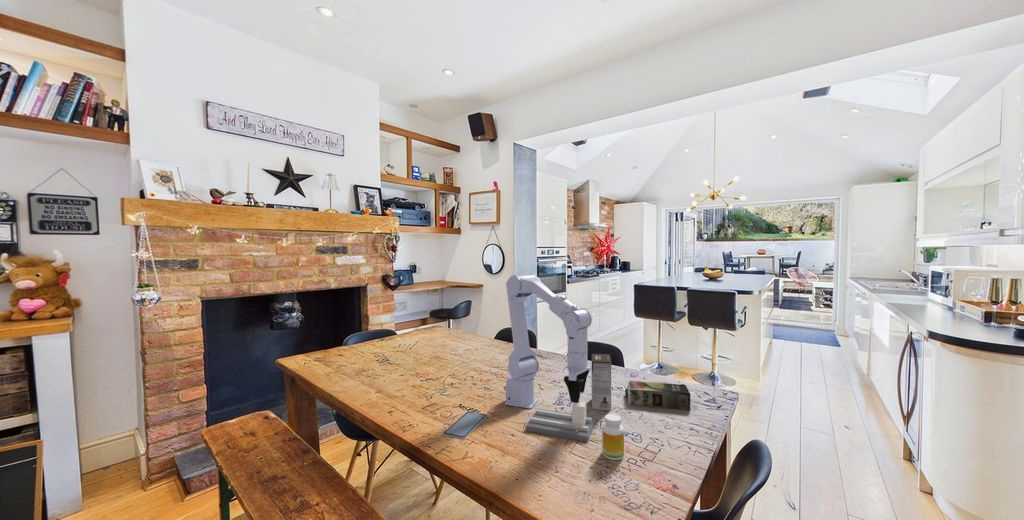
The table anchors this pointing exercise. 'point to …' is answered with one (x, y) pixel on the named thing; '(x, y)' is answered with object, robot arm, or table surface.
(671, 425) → the table surface
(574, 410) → the fader tab
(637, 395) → the juice carton
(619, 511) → the table surface
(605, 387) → the coffee box
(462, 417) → the smartphone
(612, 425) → the supplement bottle
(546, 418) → the grey slider track
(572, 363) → the robot arm
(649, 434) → the table surface
